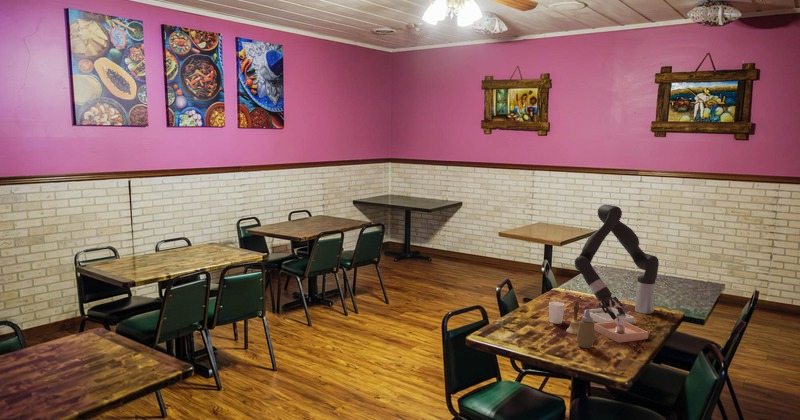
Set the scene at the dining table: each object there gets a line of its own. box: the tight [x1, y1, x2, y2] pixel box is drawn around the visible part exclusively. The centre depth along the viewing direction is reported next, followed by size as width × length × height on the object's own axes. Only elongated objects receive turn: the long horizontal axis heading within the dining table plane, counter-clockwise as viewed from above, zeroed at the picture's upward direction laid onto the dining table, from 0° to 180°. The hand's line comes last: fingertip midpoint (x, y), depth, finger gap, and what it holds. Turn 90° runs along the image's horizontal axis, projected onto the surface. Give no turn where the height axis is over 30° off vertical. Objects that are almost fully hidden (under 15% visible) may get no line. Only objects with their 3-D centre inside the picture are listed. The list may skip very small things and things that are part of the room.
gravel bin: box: [583, 307, 635, 325], centre depth 305 cm, size 18×18×4 cm
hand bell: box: [566, 300, 580, 335], centre depth 285 cm, size 8×8×16 cm
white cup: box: [548, 300, 565, 325], centre depth 300 cm, size 8×8×10 cm
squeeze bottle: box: [576, 309, 596, 349], centre depth 265 cm, size 8×8×18 cm
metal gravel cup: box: [615, 314, 626, 334], centre depth 283 cm, size 4×4×9 cm
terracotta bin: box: [594, 321, 649, 344], centre depth 283 cm, size 18×18×4 cm
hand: (619, 317), depth 283 cm, fingers open, 8 cm apart
